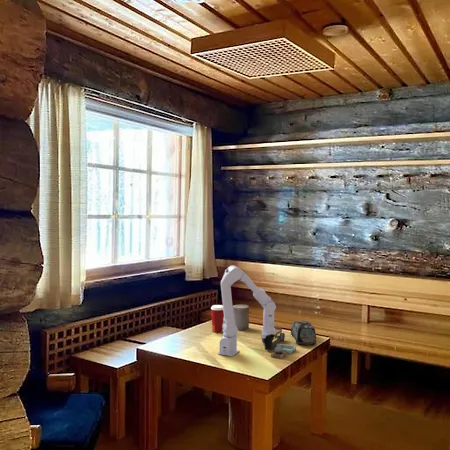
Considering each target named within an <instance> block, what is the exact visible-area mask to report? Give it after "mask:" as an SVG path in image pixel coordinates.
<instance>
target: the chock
mask: <svg viewBox="0 0 450 450" xmlns="http://www.w3.org/2000/svg"><path fill="white" fill-rule="evenodd" d="M276 346H277V338H276V339H274V338H273V341H272V344H271V348H270V349H266V347H265V346H264V350H267V351H275V347H276Z"/></svg>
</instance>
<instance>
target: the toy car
mask: <svg viewBox="0 0 450 450" xmlns="http://www.w3.org/2000/svg"><path fill="white" fill-rule="evenodd" d="M291 335H292V336H291ZM290 336H291V337H293V338H294V340H295V344H296V345H313V346H314V345H316V344H317V334H316V329H315V327H314V326H313V324H312V323H311V322H310V320H308V321H307V320H293V322H292V323H291V324H290Z"/></svg>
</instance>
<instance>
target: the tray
mask: <svg viewBox="0 0 450 450" xmlns="http://www.w3.org/2000/svg"><path fill="white" fill-rule="evenodd" d="M280 344H281V352H286V355H290V356H291V355H292V354H293V353H294V352H295V351H297V346H295V345H290V344H283V343H280ZM274 351H276V347H275V349H274Z"/></svg>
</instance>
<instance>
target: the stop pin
mask: <svg viewBox="0 0 450 450" xmlns="http://www.w3.org/2000/svg"><path fill="white" fill-rule="evenodd" d="M281 344H282V343H279V344H277V346H276V354H279V355H281Z"/></svg>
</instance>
